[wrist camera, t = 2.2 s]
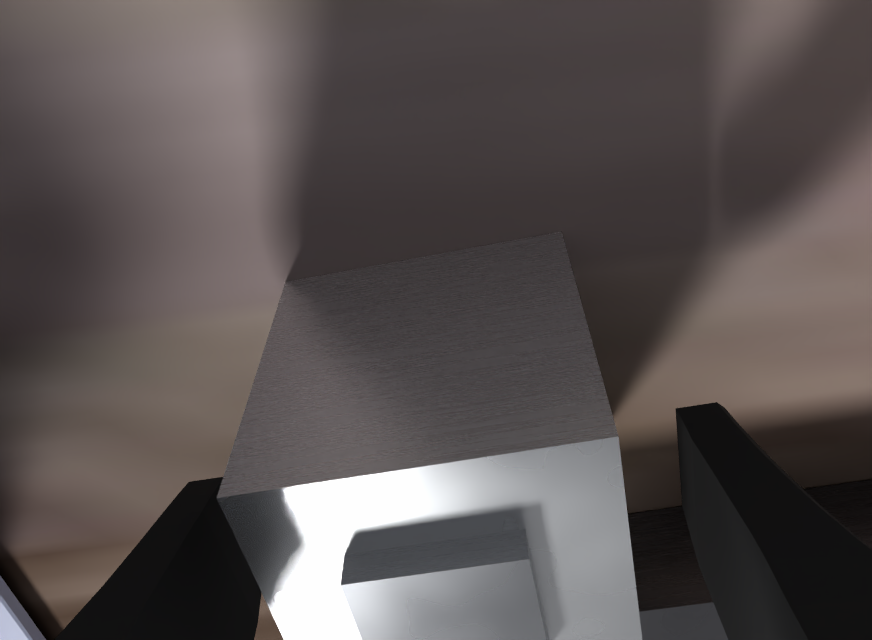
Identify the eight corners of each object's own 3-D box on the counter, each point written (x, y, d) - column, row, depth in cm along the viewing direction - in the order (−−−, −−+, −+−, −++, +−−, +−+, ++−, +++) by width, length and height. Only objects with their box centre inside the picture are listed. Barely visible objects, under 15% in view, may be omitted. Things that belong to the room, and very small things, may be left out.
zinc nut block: (356, 481, 18) (321, 758, 13) (285, 280, 15) (207, 527, 10) (591, 445, 17) (655, 720, 12) (560, 230, 14) (626, 466, 9)
